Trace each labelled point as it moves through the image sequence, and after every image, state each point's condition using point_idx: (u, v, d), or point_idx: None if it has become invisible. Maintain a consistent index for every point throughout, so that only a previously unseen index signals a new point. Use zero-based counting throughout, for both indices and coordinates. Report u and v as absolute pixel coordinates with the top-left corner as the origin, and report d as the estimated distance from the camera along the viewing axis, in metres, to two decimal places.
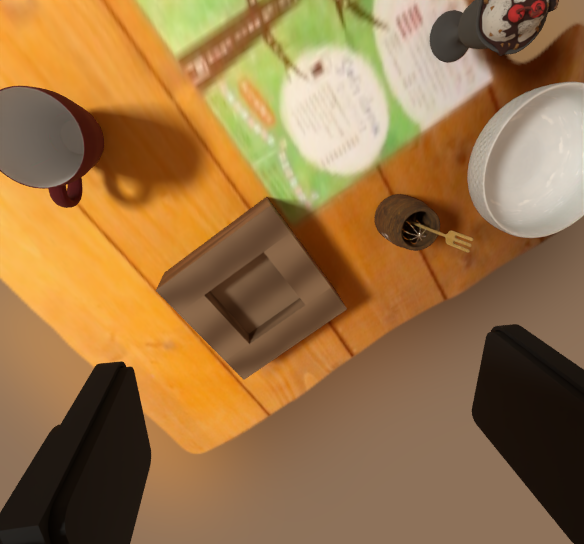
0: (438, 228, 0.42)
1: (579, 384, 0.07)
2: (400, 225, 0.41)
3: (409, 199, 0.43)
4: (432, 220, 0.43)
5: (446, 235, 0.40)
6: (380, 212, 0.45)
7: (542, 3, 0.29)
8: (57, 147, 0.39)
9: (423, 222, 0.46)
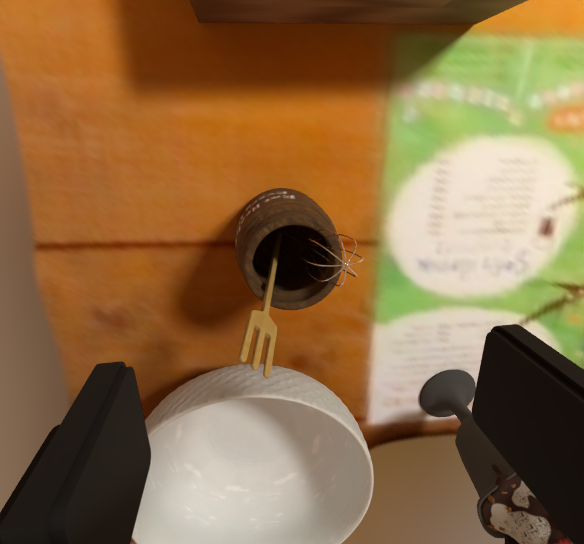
0: None
1: (579, 384, 0.07)
2: (329, 233, 0.18)
3: None
4: (281, 295, 0.20)
5: (267, 315, 0.17)
6: None
7: None
8: None
9: (256, 273, 0.23)
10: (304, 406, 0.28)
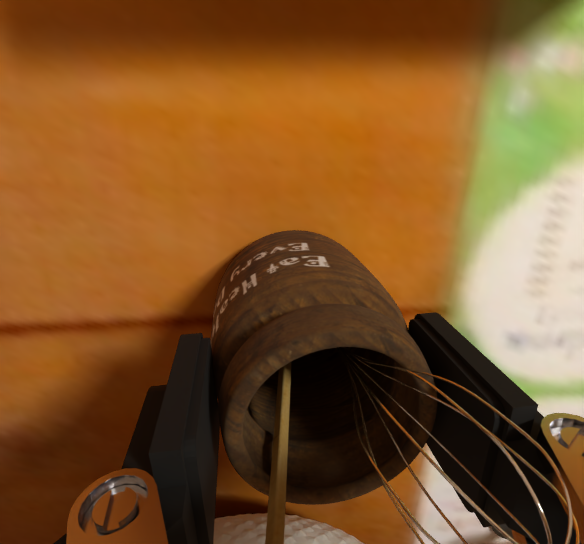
0: None
1: (470, 363, 0.08)
2: (416, 361, 0.08)
3: None
4: (301, 458, 0.10)
5: None
6: None
7: None
8: None
9: None
10: None
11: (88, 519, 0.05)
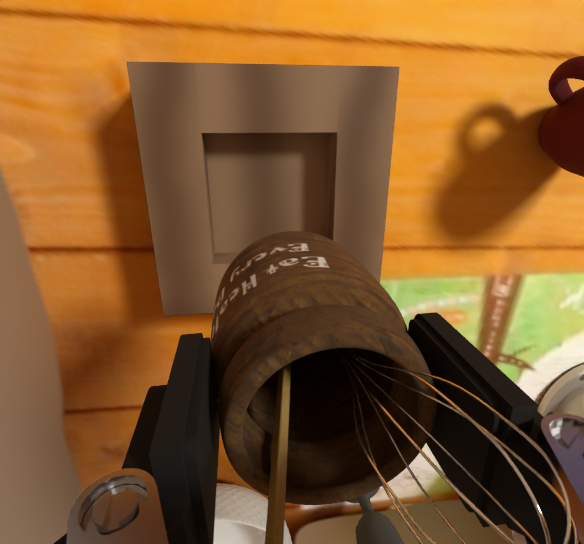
0: None
1: (470, 363, 0.08)
2: (416, 362, 0.08)
3: None
4: (300, 458, 0.10)
5: None
6: None
7: None
8: None
9: None
10: None
11: (88, 519, 0.05)
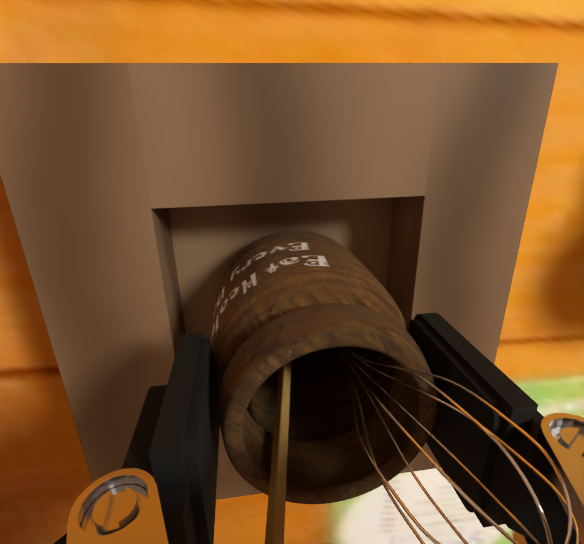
0: None
1: (470, 363, 0.08)
2: (416, 360, 0.08)
3: None
4: (300, 457, 0.10)
5: None
6: None
7: None
8: None
9: None
10: None
11: (88, 519, 0.05)
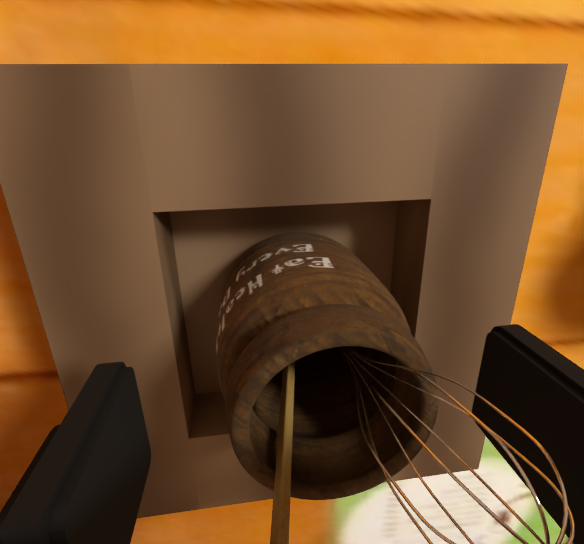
0: None
1: (579, 384, 0.07)
2: (418, 360, 0.08)
3: None
4: (304, 455, 0.10)
5: None
6: None
7: None
8: None
9: None
10: None
11: None
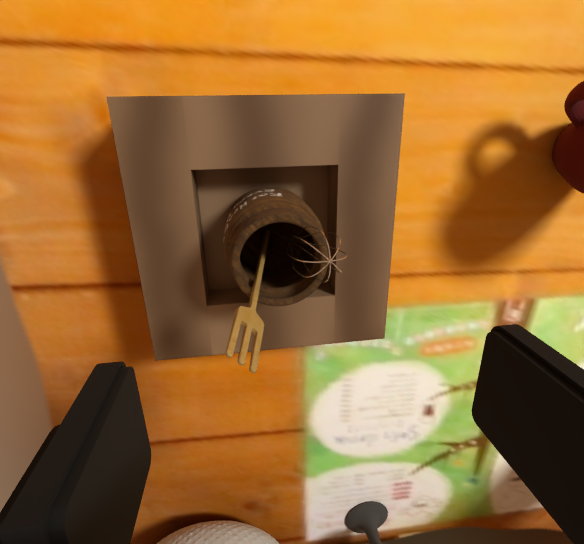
0: (257, 298, 0.19)
1: (579, 384, 0.07)
2: (315, 230, 0.18)
3: None
4: (268, 291, 0.20)
5: (254, 311, 0.17)
6: None
7: None
8: None
9: (244, 270, 0.23)
10: None
11: None
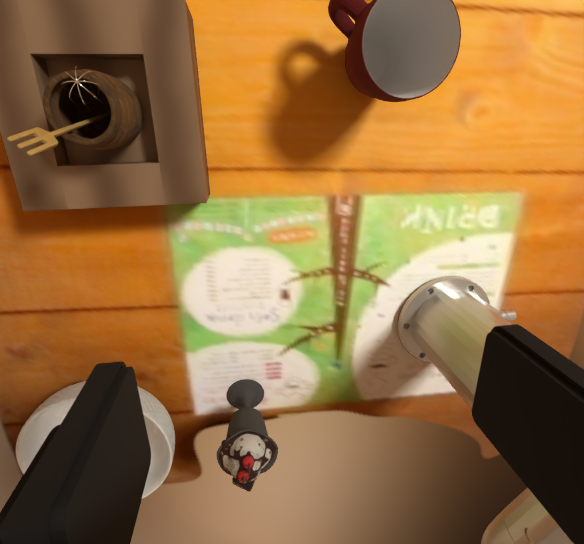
0: (67, 137, 0.27)
1: (579, 384, 0.07)
2: (101, 85, 0.26)
3: (130, 129, 0.30)
4: None
5: (52, 134, 0.25)
6: (128, 89, 0.31)
7: None
8: (377, 35, 0.36)
9: None
10: None
11: None
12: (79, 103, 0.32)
